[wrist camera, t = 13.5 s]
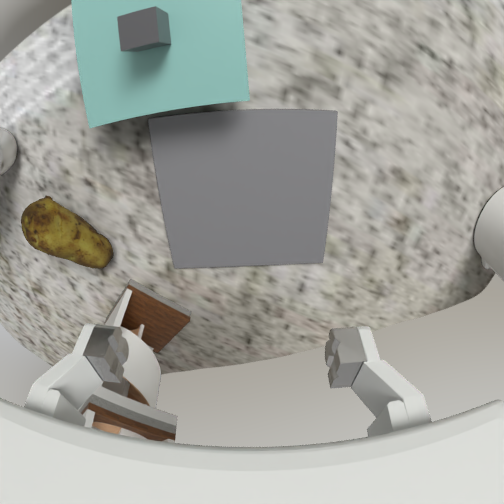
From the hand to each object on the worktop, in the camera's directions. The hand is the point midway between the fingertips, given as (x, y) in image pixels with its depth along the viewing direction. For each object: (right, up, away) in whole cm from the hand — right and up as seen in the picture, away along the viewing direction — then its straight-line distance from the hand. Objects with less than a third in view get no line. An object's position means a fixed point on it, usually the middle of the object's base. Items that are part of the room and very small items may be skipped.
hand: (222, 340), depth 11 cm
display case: (-16, -7, +36) cm, 40 cm away
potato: (-22, +7, +25) cm, 34 cm away
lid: (-7, +22, +9) cm, 25 cm away
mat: (0, +10, +24) cm, 26 cm away
